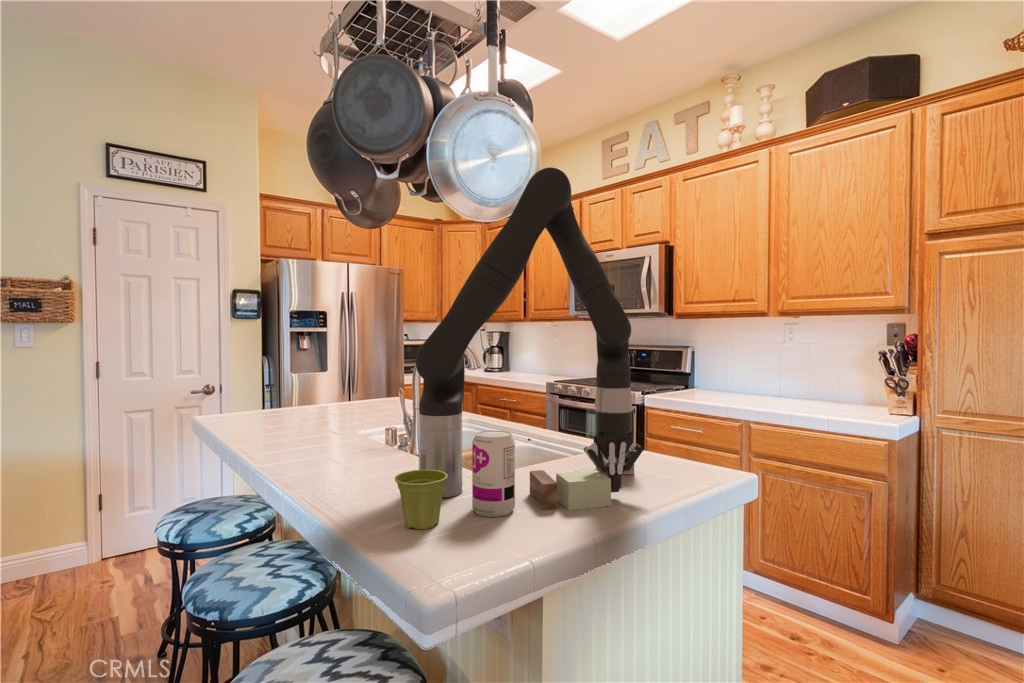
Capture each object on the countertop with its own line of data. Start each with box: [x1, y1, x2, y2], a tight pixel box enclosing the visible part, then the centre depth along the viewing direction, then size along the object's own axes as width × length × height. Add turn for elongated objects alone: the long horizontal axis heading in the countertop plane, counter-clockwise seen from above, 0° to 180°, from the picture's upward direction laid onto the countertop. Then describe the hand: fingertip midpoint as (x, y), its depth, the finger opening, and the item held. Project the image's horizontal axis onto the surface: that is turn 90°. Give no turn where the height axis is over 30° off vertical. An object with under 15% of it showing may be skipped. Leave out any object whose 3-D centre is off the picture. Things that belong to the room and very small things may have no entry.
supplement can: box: [471, 429, 516, 518], centre depth 99 cm, size 8×8×15 cm
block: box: [555, 469, 612, 511], centre depth 104 cm, size 9×7×6 cm
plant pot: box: [394, 469, 448, 530], centre depth 93 cm, size 9×9×9 cm
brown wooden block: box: [529, 469, 558, 510], centre depth 105 cm, size 3×10×5 cm, turn 13°
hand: (613, 491), depth 107 cm, fingers closed
